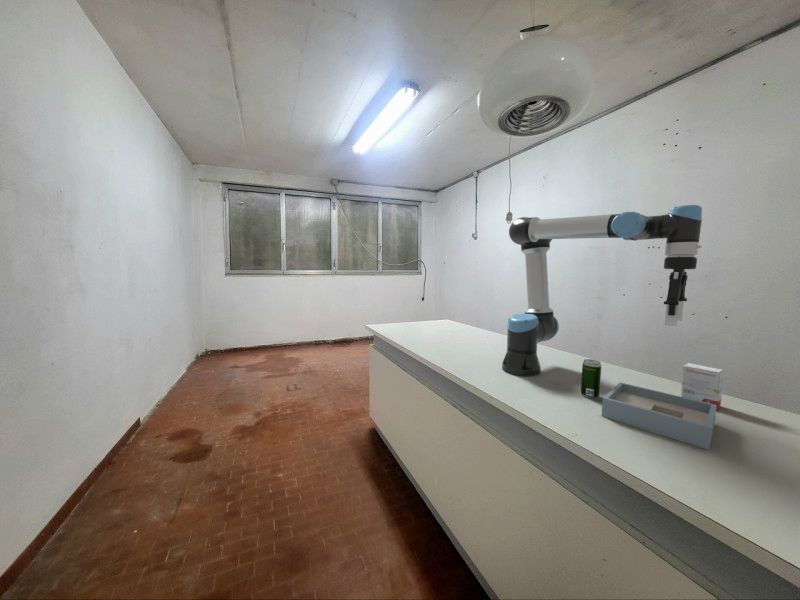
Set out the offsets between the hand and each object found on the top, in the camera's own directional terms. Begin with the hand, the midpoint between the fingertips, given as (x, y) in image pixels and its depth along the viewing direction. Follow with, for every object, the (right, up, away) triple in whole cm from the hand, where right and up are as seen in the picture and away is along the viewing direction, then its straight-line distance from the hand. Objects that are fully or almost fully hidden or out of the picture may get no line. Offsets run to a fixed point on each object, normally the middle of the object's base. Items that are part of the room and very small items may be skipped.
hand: (673, 323), depth 97 cm
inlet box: (-15, -27, -11) cm, 33 cm away
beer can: (-24, -25, +5) cm, 35 cm away
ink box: (+7, -26, -1) cm, 27 cm away
